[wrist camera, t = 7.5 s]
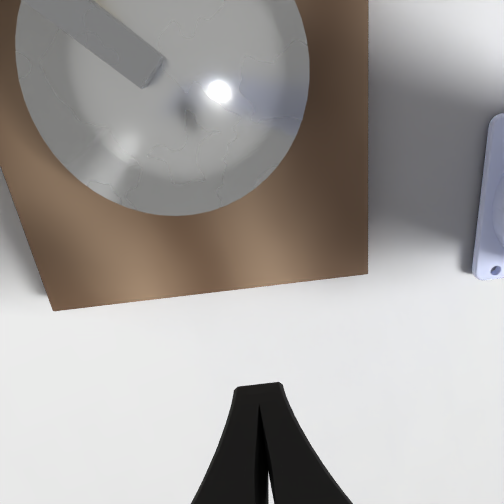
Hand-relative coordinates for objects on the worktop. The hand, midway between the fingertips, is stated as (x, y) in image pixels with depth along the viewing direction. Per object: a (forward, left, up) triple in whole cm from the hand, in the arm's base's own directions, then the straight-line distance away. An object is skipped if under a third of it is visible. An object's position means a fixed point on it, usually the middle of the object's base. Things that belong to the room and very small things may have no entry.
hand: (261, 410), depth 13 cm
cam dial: (+4, -11, -8) cm, 14 cm away
